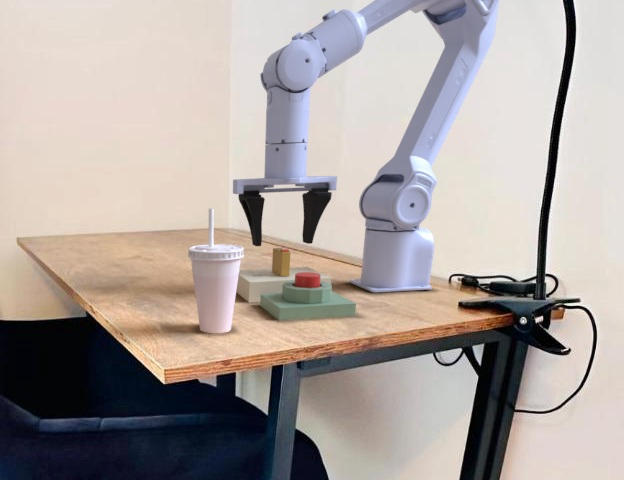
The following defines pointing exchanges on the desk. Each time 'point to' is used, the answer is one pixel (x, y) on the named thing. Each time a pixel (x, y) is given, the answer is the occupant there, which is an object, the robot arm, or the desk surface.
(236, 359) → the desk surface
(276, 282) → the plate
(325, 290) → the green square plate
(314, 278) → the lock button
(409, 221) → the robot arm
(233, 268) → the smoothie
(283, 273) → the thumbturn
